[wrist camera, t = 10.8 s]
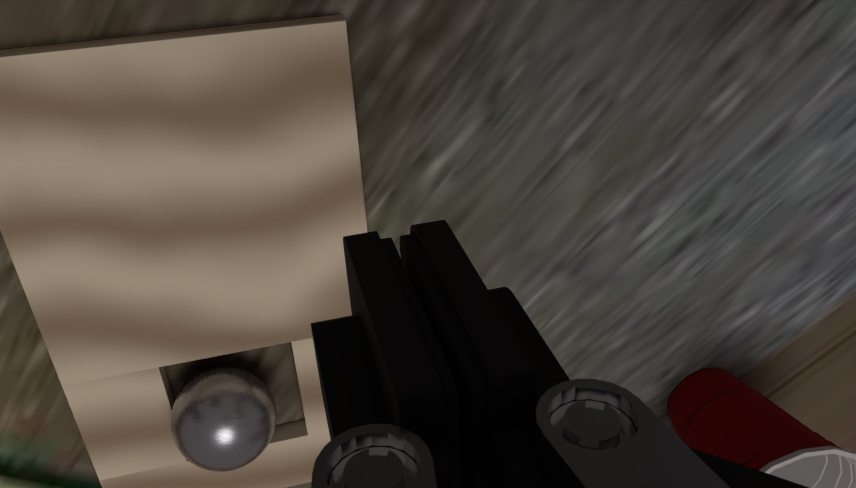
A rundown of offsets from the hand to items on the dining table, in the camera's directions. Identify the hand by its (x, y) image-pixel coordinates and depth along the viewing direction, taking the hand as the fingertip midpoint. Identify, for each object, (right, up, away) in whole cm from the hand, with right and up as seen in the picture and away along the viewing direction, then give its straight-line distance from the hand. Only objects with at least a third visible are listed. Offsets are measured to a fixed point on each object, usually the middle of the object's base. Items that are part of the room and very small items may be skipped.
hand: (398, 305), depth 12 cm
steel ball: (-11, -9, +30) cm, 34 cm away
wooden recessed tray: (-12, -2, +30) cm, 32 cm away
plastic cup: (+22, -11, +45) cm, 51 cm away
